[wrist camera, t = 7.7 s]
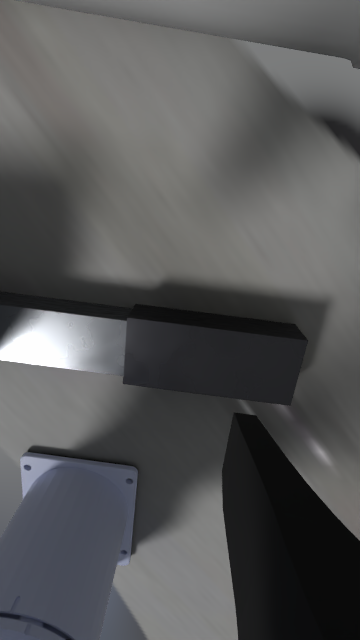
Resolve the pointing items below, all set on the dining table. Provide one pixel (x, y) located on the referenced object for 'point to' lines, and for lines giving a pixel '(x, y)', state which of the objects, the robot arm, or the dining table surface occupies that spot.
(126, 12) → the tube
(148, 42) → the dining table surface
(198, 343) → the bar
